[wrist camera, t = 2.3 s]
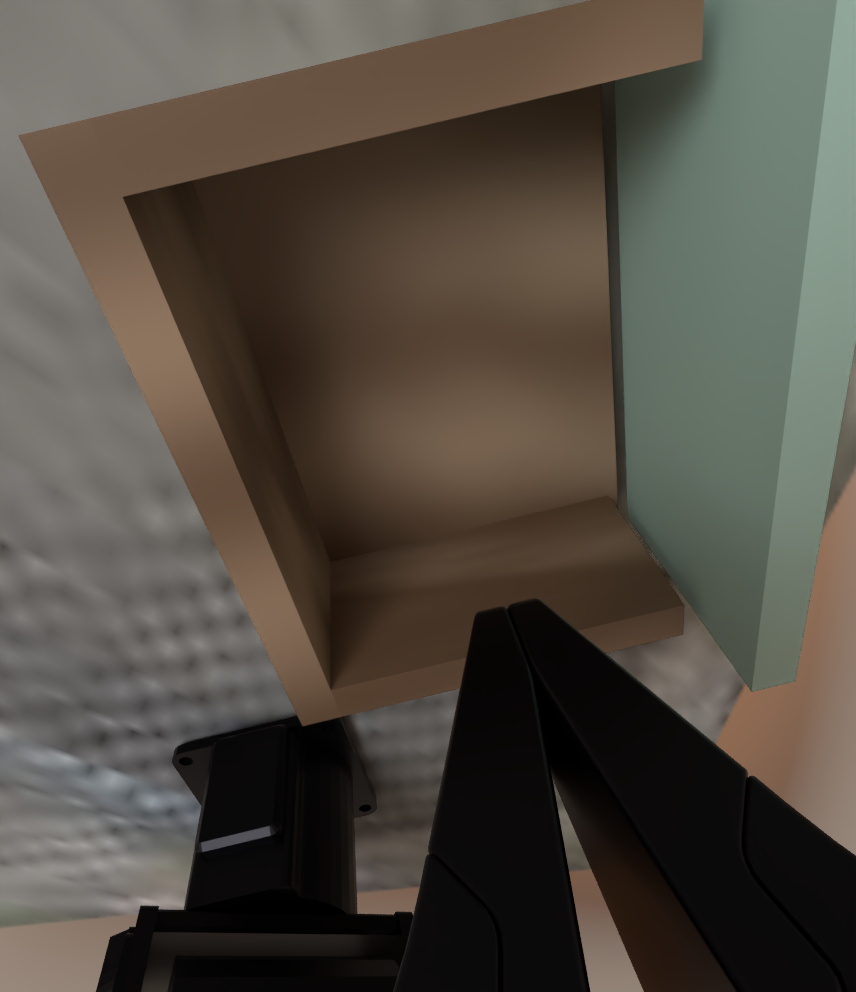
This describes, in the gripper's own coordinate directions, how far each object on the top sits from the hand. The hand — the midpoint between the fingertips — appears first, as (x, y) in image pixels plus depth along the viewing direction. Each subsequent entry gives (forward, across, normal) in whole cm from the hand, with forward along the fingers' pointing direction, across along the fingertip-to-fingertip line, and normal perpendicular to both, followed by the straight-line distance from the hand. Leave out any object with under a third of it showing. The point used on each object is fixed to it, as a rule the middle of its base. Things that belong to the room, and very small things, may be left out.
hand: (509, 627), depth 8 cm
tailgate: (+10, -5, 0) cm, 11 cm away
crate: (+11, 0, 0) cm, 11 cm away
